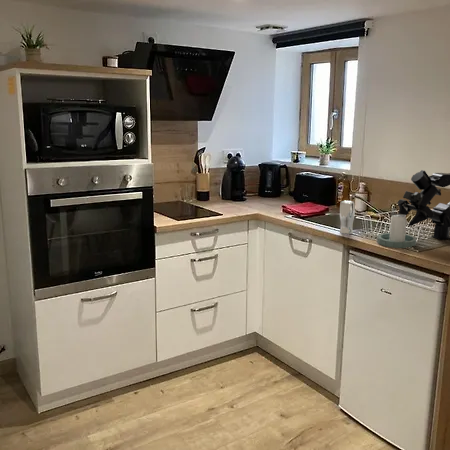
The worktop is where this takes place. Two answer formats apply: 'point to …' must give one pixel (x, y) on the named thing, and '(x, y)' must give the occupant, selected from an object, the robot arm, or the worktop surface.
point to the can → (398, 227)
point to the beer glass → (347, 216)
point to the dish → (385, 241)
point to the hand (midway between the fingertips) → (402, 223)
